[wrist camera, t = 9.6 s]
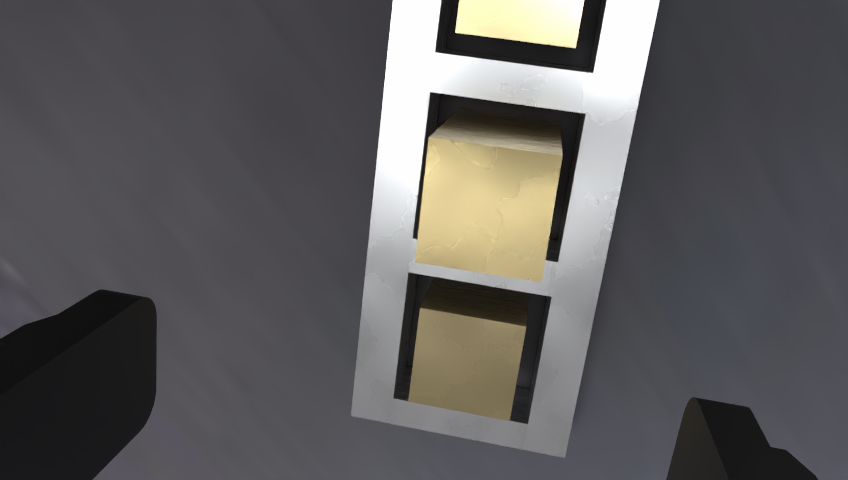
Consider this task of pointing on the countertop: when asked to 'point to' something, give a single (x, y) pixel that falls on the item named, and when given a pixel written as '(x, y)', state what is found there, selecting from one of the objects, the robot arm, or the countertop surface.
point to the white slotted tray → (477, 292)
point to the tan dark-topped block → (490, 194)
